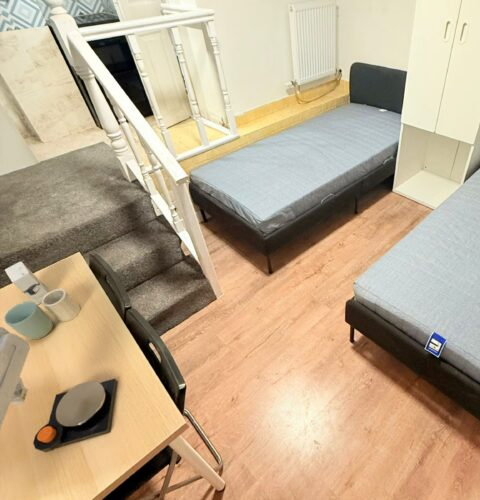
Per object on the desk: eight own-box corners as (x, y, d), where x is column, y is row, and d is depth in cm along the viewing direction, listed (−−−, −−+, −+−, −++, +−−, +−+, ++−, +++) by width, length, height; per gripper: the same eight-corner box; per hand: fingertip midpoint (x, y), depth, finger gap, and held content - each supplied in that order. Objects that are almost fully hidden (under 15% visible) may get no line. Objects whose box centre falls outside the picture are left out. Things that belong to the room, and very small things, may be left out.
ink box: (27, 292, 111) (3, 269, 103) (43, 283, 114) (21, 260, 105) (36, 306, 107) (11, 282, 99) (53, 296, 110) (29, 273, 101)
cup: (49, 316, 104) (29, 296, 97) (61, 328, 101) (41, 309, 94) (22, 334, 100) (-1, 315, 93) (34, 348, 96) (10, 329, 89)
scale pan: (51, 433, 76) (50, 432, 76) (63, 389, 84) (61, 388, 83) (101, 418, 78) (100, 418, 78) (108, 376, 86) (107, 375, 85)
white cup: (55, 323, 102) (38, 308, 96) (60, 307, 106) (44, 291, 101) (77, 318, 103) (62, 302, 98) (82, 302, 108) (68, 286, 102)
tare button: (40, 444, 75) (35, 442, 74) (44, 431, 77) (39, 428, 76) (54, 440, 76) (50, 438, 74) (58, 426, 78) (53, 424, 77)
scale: (39, 457, 76) (29, 453, 74) (55, 398, 86) (47, 392, 83) (109, 436, 79) (102, 431, 76) (117, 381, 88) (111, 375, 86)
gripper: (-21, 326, 70) (22, 358, 80) (-74, 428, 56) (-13, 452, 66) (13, 319, 71) (51, 351, 81) (-30, 417, 57) (22, 442, 67)
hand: (22, 397), depth 73 cm, fingers closed
